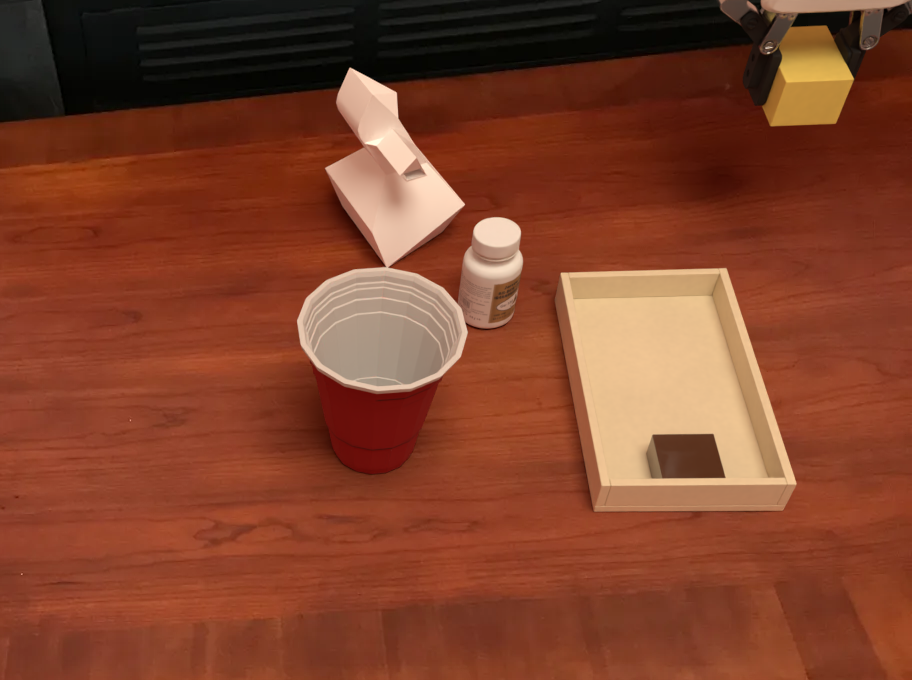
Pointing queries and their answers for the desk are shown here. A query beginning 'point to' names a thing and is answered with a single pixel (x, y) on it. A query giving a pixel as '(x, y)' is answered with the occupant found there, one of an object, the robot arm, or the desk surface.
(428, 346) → the plastic cup
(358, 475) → the desk surface
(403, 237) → the white faceted sculpture
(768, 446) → the tray
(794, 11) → the robot arm
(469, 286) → the pill bottle
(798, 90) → the yellow rectangular block
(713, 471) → the brown flat square block
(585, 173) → the desk surface
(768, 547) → the desk surface
